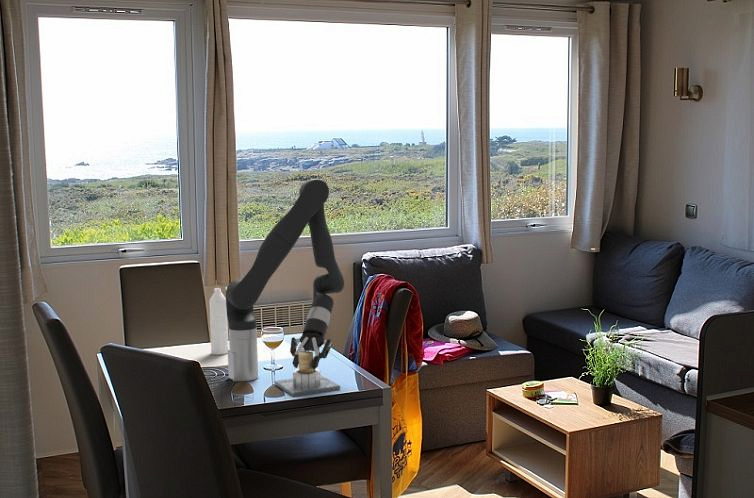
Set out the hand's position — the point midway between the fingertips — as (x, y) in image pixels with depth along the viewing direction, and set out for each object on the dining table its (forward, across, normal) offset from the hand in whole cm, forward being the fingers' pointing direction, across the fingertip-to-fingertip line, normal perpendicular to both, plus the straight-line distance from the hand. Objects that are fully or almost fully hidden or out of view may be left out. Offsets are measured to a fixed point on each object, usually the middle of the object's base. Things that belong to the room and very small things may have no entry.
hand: (304, 367), depth 278 cm
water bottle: (-22, -50, +32) cm, 63 cm away
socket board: (+4, 0, +6) cm, 7 cm away
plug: (+3, 0, +5) cm, 6 cm away
